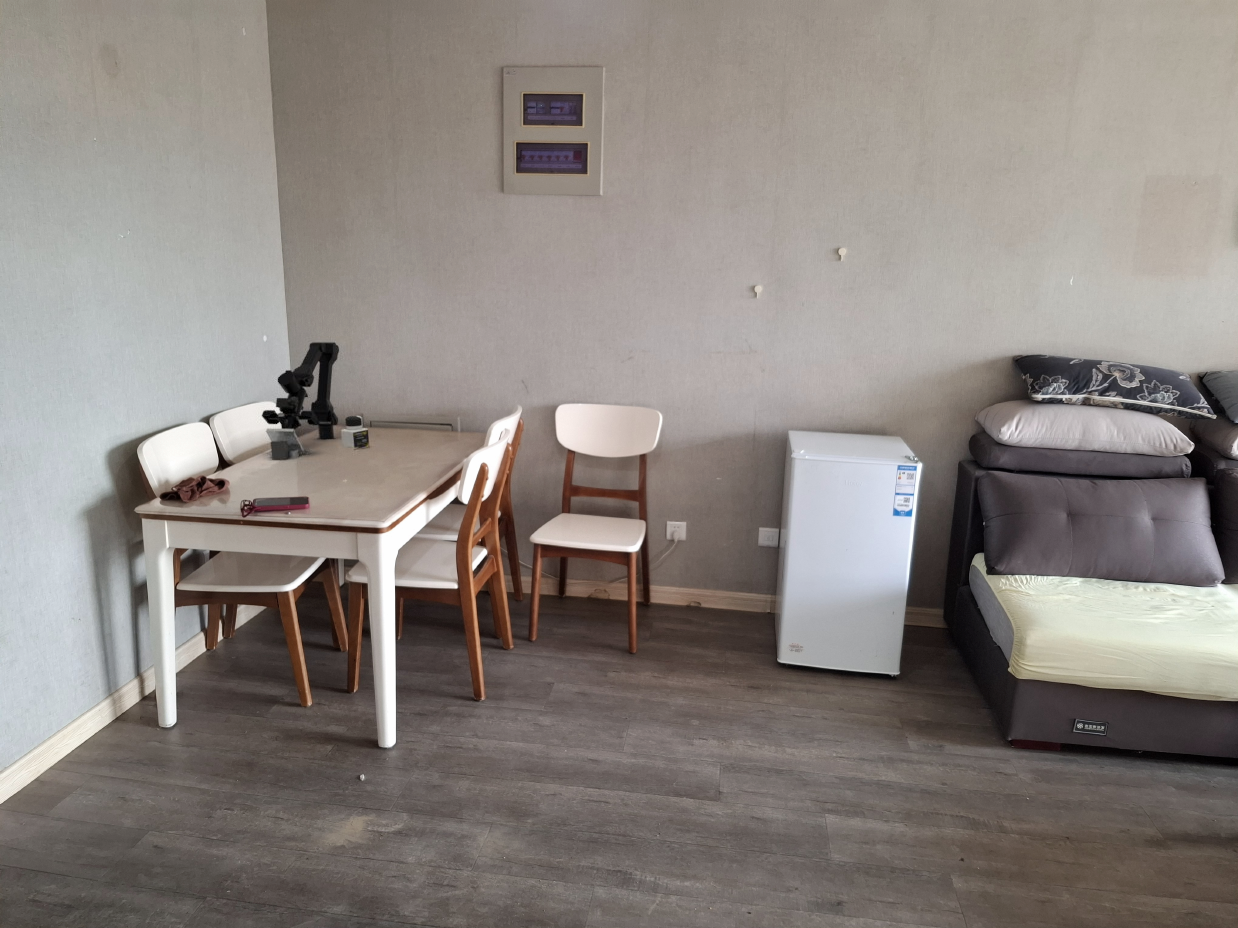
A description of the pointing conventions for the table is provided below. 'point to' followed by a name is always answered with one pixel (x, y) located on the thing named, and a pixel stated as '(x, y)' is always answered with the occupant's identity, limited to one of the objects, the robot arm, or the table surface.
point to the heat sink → (283, 451)
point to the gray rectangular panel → (286, 438)
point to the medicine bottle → (355, 433)
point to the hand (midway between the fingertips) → (284, 437)
